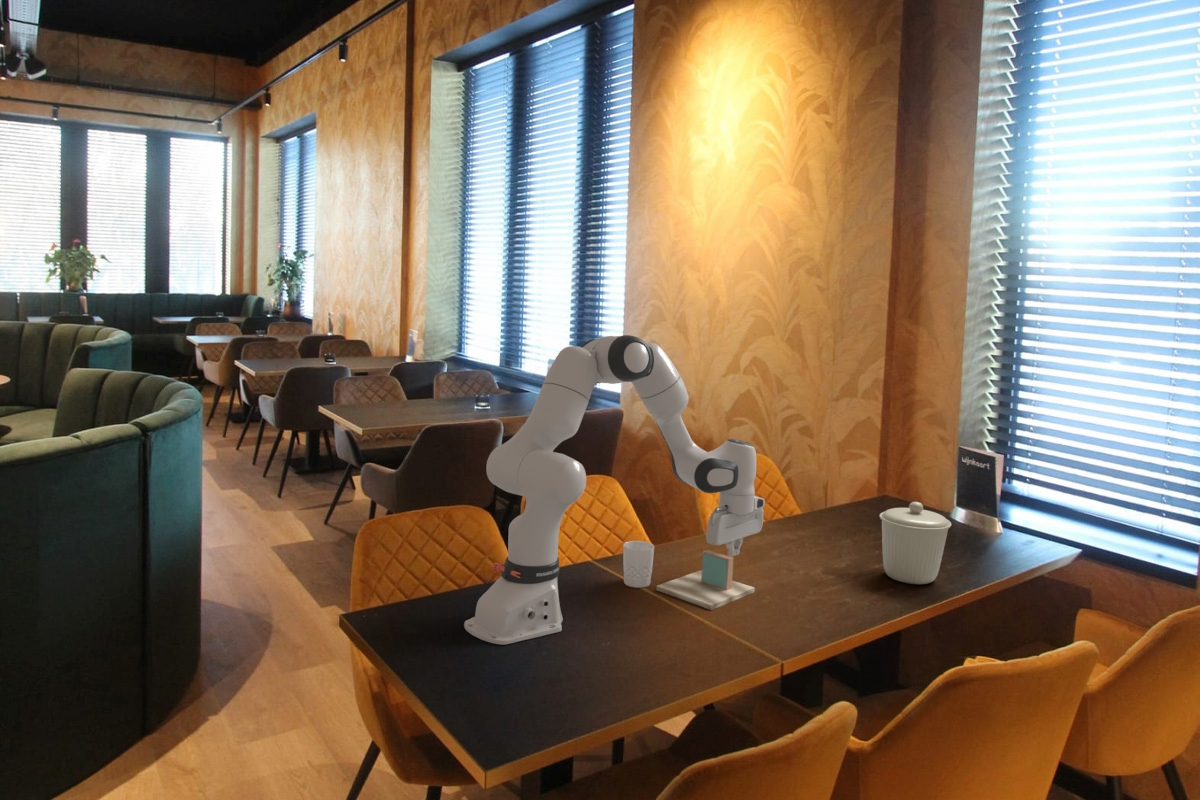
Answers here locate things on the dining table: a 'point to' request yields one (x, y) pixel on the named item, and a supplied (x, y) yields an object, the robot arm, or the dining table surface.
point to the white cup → (637, 563)
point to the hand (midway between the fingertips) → (733, 555)
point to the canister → (913, 543)
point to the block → (717, 569)
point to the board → (703, 591)
